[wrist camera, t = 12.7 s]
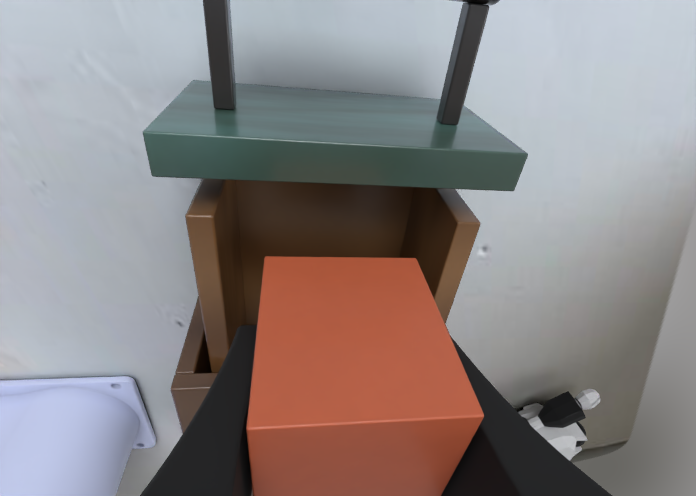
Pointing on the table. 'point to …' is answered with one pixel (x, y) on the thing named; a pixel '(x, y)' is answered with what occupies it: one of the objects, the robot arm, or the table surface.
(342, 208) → the drawer
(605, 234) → the table surface
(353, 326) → the block
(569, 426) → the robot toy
